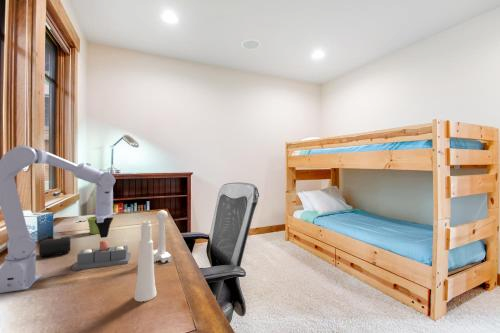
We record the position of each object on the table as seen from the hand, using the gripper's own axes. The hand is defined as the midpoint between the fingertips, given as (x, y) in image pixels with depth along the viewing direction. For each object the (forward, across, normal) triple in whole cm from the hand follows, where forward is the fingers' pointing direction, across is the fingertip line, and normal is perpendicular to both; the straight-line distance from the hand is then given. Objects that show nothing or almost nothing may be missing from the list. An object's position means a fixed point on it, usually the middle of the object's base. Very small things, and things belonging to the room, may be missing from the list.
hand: (104, 237), depth 94 cm
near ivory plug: (+9, 0, +5) cm, 11 cm away
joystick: (+10, -4, -20) cm, 23 cm away
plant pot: (+10, +48, +13) cm, 51 cm away
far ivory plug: (+9, 0, -6) cm, 11 cm away
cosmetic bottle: (+10, -32, -17) cm, 38 cm away
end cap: (+10, +16, +21) cm, 28 cm away
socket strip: (+10, 0, 0) cm, 10 cm away
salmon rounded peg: (+6, 0, 0) cm, 6 cm away
